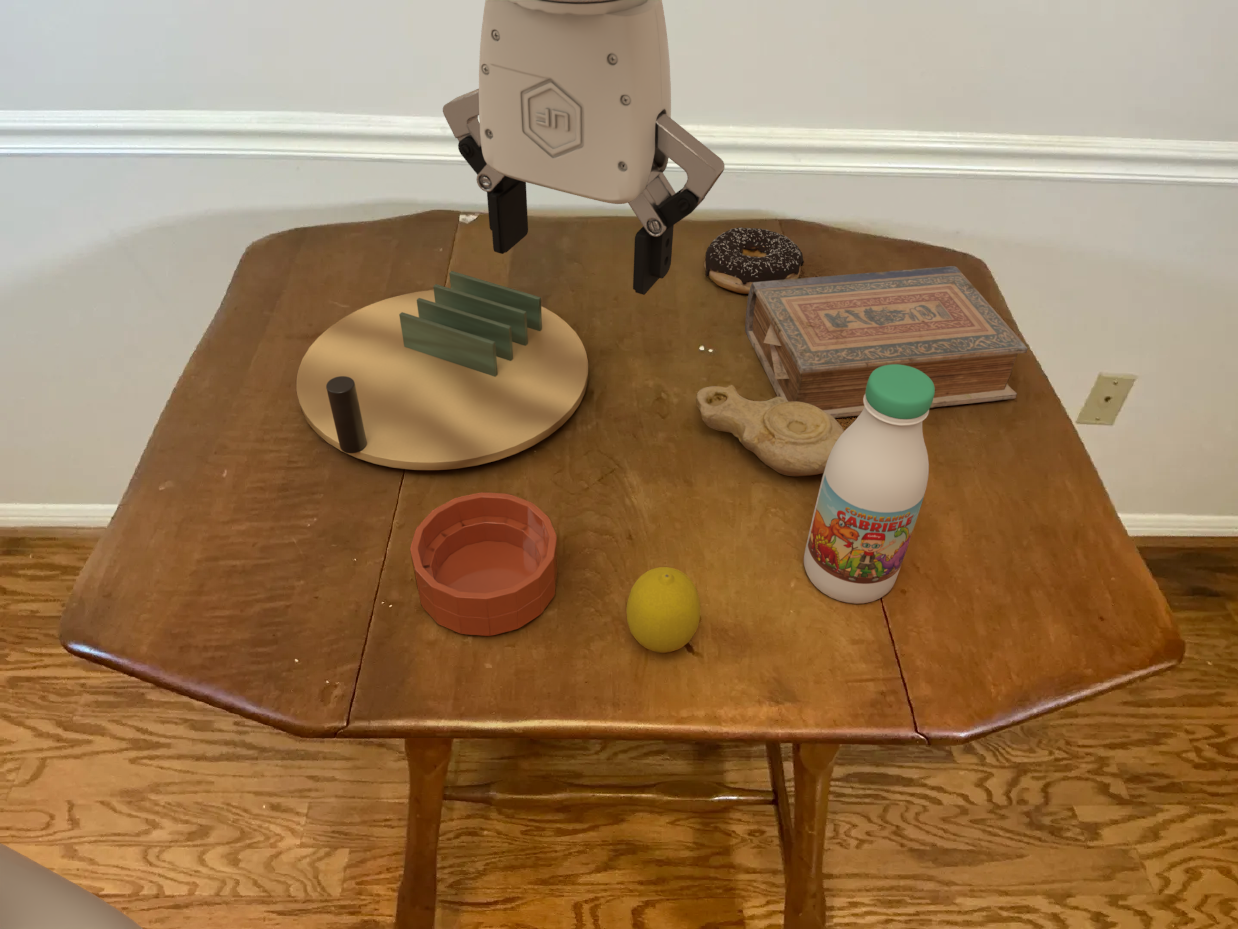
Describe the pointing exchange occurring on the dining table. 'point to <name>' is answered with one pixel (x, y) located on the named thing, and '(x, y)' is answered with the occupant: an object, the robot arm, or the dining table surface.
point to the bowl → (485, 563)
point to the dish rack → (443, 377)
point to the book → (880, 336)
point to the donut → (751, 258)
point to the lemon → (663, 609)
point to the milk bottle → (872, 490)
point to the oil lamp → (773, 429)
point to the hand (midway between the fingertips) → (578, 262)
